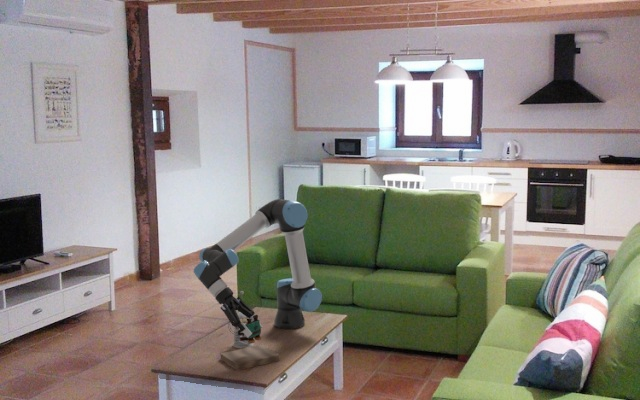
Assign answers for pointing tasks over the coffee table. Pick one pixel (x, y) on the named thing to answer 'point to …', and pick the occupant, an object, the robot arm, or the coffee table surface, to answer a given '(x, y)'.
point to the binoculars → (252, 330)
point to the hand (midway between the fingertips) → (255, 332)
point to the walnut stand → (249, 357)
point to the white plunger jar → (237, 341)
